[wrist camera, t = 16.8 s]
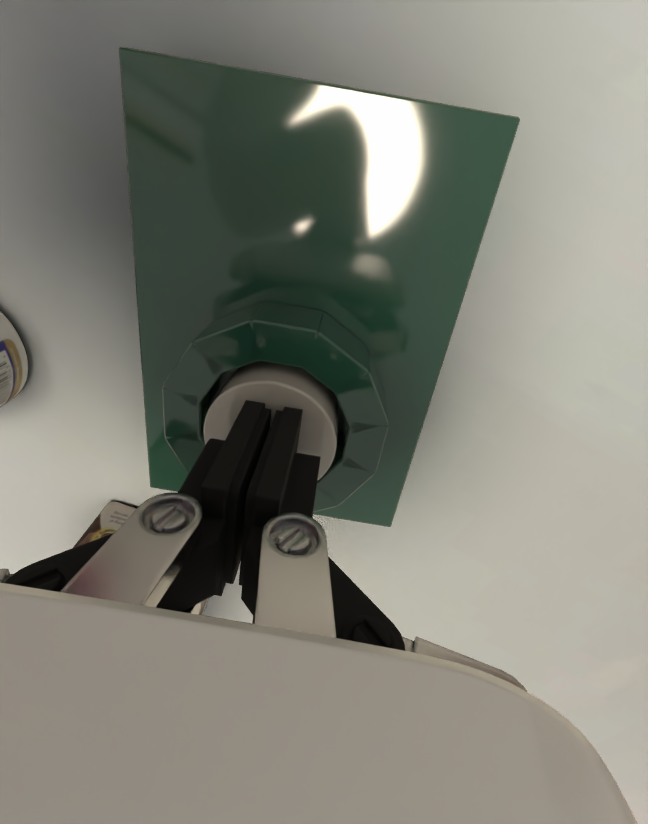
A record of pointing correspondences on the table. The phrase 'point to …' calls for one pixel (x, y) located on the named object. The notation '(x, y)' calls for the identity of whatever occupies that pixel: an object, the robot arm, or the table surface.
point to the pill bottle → (11, 362)
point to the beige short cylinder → (280, 406)
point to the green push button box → (301, 253)
